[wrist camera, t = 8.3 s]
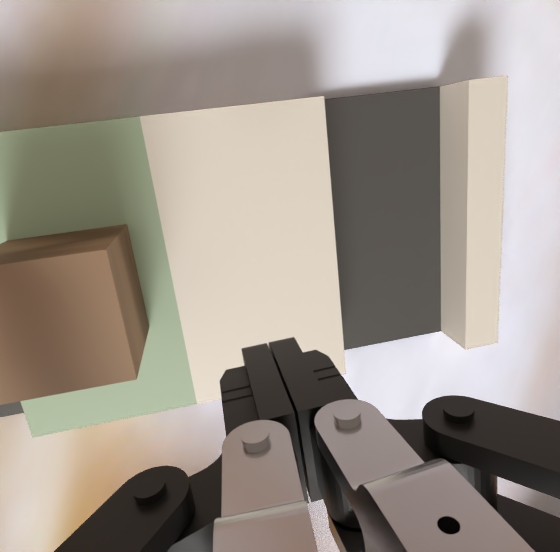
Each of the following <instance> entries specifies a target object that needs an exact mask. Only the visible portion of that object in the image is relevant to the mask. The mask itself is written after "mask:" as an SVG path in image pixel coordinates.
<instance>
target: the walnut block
mask: <svg viewBox="0 0 560 552" xmlns="http://www.w3.org/2000/svg"><path fill="white" fill-rule="evenodd" d="M148 331H149V323H148V318H147V314H146V309H145V304H144V300H143V295H142V290H141V286H140V281H139V277H138V272H137V267H136V263H135V258H134V254H133V249H132V244H131V240H130V235H129V230H128V226H127V224H124V225H116V226H109V227H102V228H95V229H87V230H80V231H73V232H66V233H58V234H51V235H44V236H36V237H29V238H22V239H15V240H7V241H5V242H3V243H1V244H0V405H3V404H8V403H14V402H19V401H24V400H30V399H35V398H40V397H46V396H51V395H56V394H62V393H67V392H73V391H78V390H83V389H89V388H94V387H99V386H105V385H110V384H115V383H121V382H126V381H131V380H137V377H138V373H139V368H140V364H141V360H142V356H143V352H144V348H145V343H146V339H147V335H148Z"/></svg>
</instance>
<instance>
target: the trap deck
mask: <svg viewBox="0 0 560 552" xmlns="http://www.w3.org/2000/svg"><path fill="white" fill-rule="evenodd" d="M507 87H508V76H499V77H490V78H481V79H472V80H466V81H462V82H457V83H453V84H449V85H444V86H440V87H431V88H422V89H413V90H404V91H396V92H387V93H378V94H369V95H360V96H351V97H342V98H333V99H324V96H319V97H310V98H301V99H292V100H283V101H274V102H265V103H256V104H247V105H237V106H228V107H219V108H210V109H201V110H192V111H183V112H174V113H165V114H156V115H147V116H138V117H129V118H120V119H111V120H102V121H93V122H84V123H75V124H66V125H57V126H48V127H39V128H30V129H21V130H12V131H3V132H0V244H1V243H3V242H5V241H7V240H15V239H22V238H29V237H36V236H44V235H51V234H58V233H66V232H73V231H80V230H87V229H95V228H102V227H109V226H116V225H124V224H127V226H128V230H129V235H130V240H131V244H132V249H133V254H134V258H135V263H136V267H137V272H138V277H139V281H140V286H141V290H142V295H143V300H144V304H145V309H146V314H147V318H148V323H149V331H148V335H147V339H146V343H145V348H144V352H143V356H142V360H141V364H140V368H139V373H138V377H137V380H131V381H126V382H121V383H115V384H110V385H105V386H99V387H94V388H89V389H83V390H78V391H73V392H67V393H62V394H56V395H51V396H46V397H40V398H35V399H30V400H24V401H19V402H14V403H8V404H3V405H0V417H4V416H9V415H14V414H19V413H24V414H25V416H26V419H27V422H28V425H29V428H30V431H31V434H32V437H38V436H43V435H48V434H53V433H58V432H62V431H67V430H72V429H77V428H82V427H87V426H92V425H97V424H102V423H107V422H112V421H116V420H121V419H126V418H131V417H136V416H141V415H146V414H151V413H156V412H161V411H166V410H170V409H175V408H180V407H185V406H190V405H195V404H200V403H205V402H210V401H215V400H220V399H222V398H221V389H220V379H221V377H222V376H223V374H224V372H225V371H226V370H227V369H232V368H236V367H241V366H244V361H243V356H242V350H241V348H245V347H250V346H255V345H259V344H264V343H267V344H268V347H269V342H273V341H277V340H282V339H286V338H291V337H294V338H295V339H296V341H297V343H298V345H299V347H300V348H301V350H302V352H307V351H312V350H318V351H320V352H322V353H324V354H326V355H327V356H329V357H330V359H331V360H332V362H333V363H334V365H335V367H336V368H337V369H338V371H339V372H340V374H341V375H342V374H346V367H345V355H344V350H347V349H352V348H357V347H362V346H367V345H372V344H377V343H382V342H387V341H393V340H398V339H403V338H408V337H413V336H418V335H423V334H428V333H433V332H439V331H442V332H443V333H444V334H446V335H447V336H448V337H450V338H451V339H452V340H453V341H455V342H456V343H457V344H459V345H460V346H461V347H463V348H464V349H470V348H475V347H480V346H485V345H490V344H495V343H498V321H499V295H500V269H501V243H502V217H503V191H504V165H505V139H506V113H507Z"/></svg>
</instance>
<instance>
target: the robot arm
mask: <svg viewBox="0 0 560 552" xmlns="http://www.w3.org/2000/svg"><path fill="white" fill-rule="evenodd" d="M241 350H242V356H243V361H244V366H241V367H236V368H232V369H227V370H226V371H225V372H224V374H223V376H222V377H221V379H220V389H221V398H222V406H223V414H224V422H225V430H226V438H225V440H224V442H223V446H222V454H221V456H220V457H219V458H218V459H217V460H216V461H215V462H214V463H213V464H211V465H210V466H208V467H207V468H205V469H204V470H202V471H200V472H198V473H196V474H194V475H192V476H190V477H188V476H187V474H186V473H185V472H184V471H183V470H181V469H179V468H177V467H173V466H159V467H154V468H151V469H148V470H145V471H143V472H141V473H139V474H137V475H135V476H134V477H132V478H131V479H129V480H128V481H127V482H126V483H124V484H123V485H122V486H121V487H120V488H119V489H118V490H117V491H116V492H115V493H114V494H113V495H112V496H111V497H110V498H109V499H108V500H107V501H106V502H105V503H104V504H103V505H102V506H101V507H100V508H98V509H97V510H96V511H95V512H94V513H93V514H92V515H91V516H90V517H89V518H88V519H87V520H86V521H85V522H84V523H83V524H82V525H81V526H80V527H79V528H78V529H77V530H76V531H75V532H74V533H73V534H72V535H71V536H70V537H68V538H67V539H66V540H65V541H64V542H63V543H62V544H61V545H60V546H59V547H58V548H57V549H56V550H55V551H54V552H318V550H317V545H316V541H315V537H314V532H313V528H312V523H311V519H310V515H309V510H308V506H307V503H309V502H308V495H307V490H308V493H309V496H310V499H311V502H314V501H317V500H321V499H323V500H324V503H325V505H326V508H327V514H328V521H329V528H330V531H331V533H332V535H333V538H334V540H335V542H336V544H337V546H338V548H339V550H340V552H560V518H558V517H556V516H553V515H551V514H548V513H546V512H543V511H540V510H538V509H535V508H533V507H530V506H527V505H525V504H522V503H520V502H517V501H514V500H512V499H509V498H507V497H504V496H502V495H499V494H497V476H498V477H501V478H504V479H506V480H509V481H512V482H515V483H517V484H520V485H523V486H526V487H528V488H531V489H534V490H537V491H540V492H542V493H545V494H548V495H551V496H553V497H556V498H558V499H560V421H557V420H554V419H550V418H546V417H542V416H538V415H535V414H531V413H527V412H523V411H519V410H516V409H512V408H508V407H504V406H500V405H497V404H493V403H489V402H485V401H481V400H478V399H474V398H470V397H465V396H443V397H439V398H436V399H433V400H431V401H430V402H428V403H427V404H426V405H425V406H424V408H423V411H422V419H415V420H393V419H386V418H385V417H384V416H383V415H382V414H381V413H380V411H379V410H378V409H377V408H376V407H375V406H373V405H372V404H370V403H367V402H365V401H361V400H358V399H357V398H356V396H355V395H354V393H353V392H352V390H351V389H350V387H349V386H348V384H347V383H346V381H345V380H344V378H343V377H342V376H341V374H340V372H339V371H338V369H337V368H336V367H335V365H334V363H333V362H332V360H331V359H330V357H329V356H327V355H326V354H324V353H322V352H320V351H318V350H312V351H307V352H302V350H301V348H300V347H299V345H298V343H297V341H296V339H295V338H294V337H291V338H286V339H282V340H277V341H273V342H269V347H268V344H267V343H264V344H259V345H255V346H250V347H245V348H241ZM306 487H307V489H306Z"/></svg>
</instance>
